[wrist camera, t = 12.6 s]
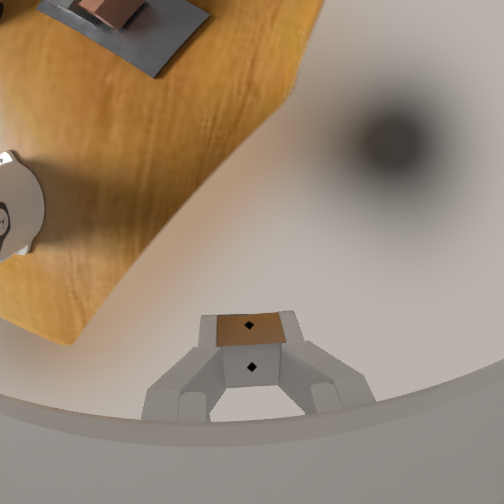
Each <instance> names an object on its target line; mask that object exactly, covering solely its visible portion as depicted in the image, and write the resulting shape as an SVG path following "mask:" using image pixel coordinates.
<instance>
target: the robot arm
mask: <svg viewBox="0 0 504 504" xmlns="http://www.w3.org/2000/svg"><path fill="white" fill-rule="evenodd" d="M43 219H44V199H43V194H42V190H41V188H40V185H39V183H38V181H37V179H36V177H35V176H34V175H33V173H32V172H31V171H30V170H29V169H28V168H26V167H25V166H24V165H22V164H20V163H19V162H18V161H17V159H16V158H15V156H14V155H13V153H12V152H11V151H9V150H8V151H5V152H3V153H2V154H0V263H1V262H4V261H5V260H7V259H8V258H10V257H11V256H13V255H14V254H19V255H25V254H27V253H28V252H29V250H30V247H31V243H32V240H33V239H34V237H35V236H36V235H37V234H38V232H39V230H40V228H41V226H42V223H43ZM270 385H279V387H280V388H281V389H282V390H283V391H284V392H285V393H286V394H287V395H288V396H289V397H290V398H291V399H292V400H293V401H294V402H295V403H296V404H297V405H298V406H299V407H300V408H301V409H302V410H303V411H304V412H305V415H302V416H293V417H285V418H275V419H264V420H252V421H251V420H250V421H234V422H211V420H210V415H209V413H210V411H211V410H212V409H213V407H214V406H215V405H216V403H217V402H218V400H219V399H220V397H221V396H222V395H223V393H224V392H225V390H226V388H238V387H251V386H270ZM0 504H504V359H503V360H500V361H498V362H496V363H494V364H491V365H489V366H487V367H484V368H482V369H479V370H477V371H474V372H472V373H469V374H467V375H464V376H461V377H459V378H456V379H453V380H450V381H447V382H444V383H442V384H438V385H435V386H432V387H429V388H426V389H423V390H419V391H416V392H413V393H409V394H406V395H402V396H398V397H395V398H391V399H387V400H383V401H379V402H376V400H375V398H374V396H373V394H372V392H371V390H370V388H369V386H368V383H367V381H366V379H365V377H364V375H362V374H361V373H359V372H357V371H356V370H354V369H353V368H351V367H349V366H347V365H346V364H344V363H343V362H341V361H340V360H338V359H336V358H335V357H333V356H332V355H330V354H329V353H327V352H325V351H324V350H322V349H321V348H319V347H318V346H316V345H314V344H313V343H312V342H310V341H304V338H303V335H302V333H301V330H300V327H299V324H298V321H297V318H296V316H295V313H294V311H282V312H275V313H261V314H233V315H232V314H231V315H202V316H201V320H200V330H199V341H198V347H194V348H192V349H191V350H190V351H189V352H188V353H187V354H186V355H185V356H184V357H183V358H182V359H180V360H179V361H178V362H177V363H176V364H175V365H174V366H173V367H172V368H171V369H170V370H169V371H167V372H166V373H165V374H164V375H163V376H162V377H161V378H160V379H159V380H157V381H156V382H155V383H154V384H153V385H152V386H151V387H150V388H149V389H147V393H146V398H145V402H144V407H143V412H142V417H141V420H134V419H125V418H115V417H107V416H99V415H92V414H85V413H79V412H73V411H68V410H63V409H58V408H52V407H48V406H44V405H39V404H35V403H31V402H27V401H23V400H19V399H16V398H12V397H9V396H5V395H2V394H0Z"/></svg>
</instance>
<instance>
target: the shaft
mask: <svg viewBox="0 0 504 504" xmlns="http://www.w3.org/2000/svg"><path fill="white" fill-rule="evenodd" d="M145 1H146V0H82V1H81V2H80V3H79V4H78V5H80V6H81V7H83V8H84V9H86V11H87V12H88V13H90V14H92V15H94V16H96V17H97V18H98V19H100V20H101V21H102V22H104V23H105V24H107V25H109V26H111V27H113V28H114V29H116V30H118V31H119V30H120V28H121V27H122V26H123V25H124V24H125V23H126V21H127V20H128V19H129V18H130V17H131V16H132V15H133V13H134V12H135V11H136V10H137V9H138V8H139V7H140V6H141V5H142V4H143V3H144V2H145Z"/></svg>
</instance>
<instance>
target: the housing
mask: <svg viewBox="0 0 504 504" xmlns="http://www.w3.org/2000/svg"><path fill="white" fill-rule="evenodd" d="M81 1H82V0H42V1H41V2H40V4H39V5H38V7H37V8H36V10H38V11H40V12H42V13H44V14H46V15H48V16H50V17H52V18H54V19H56V20H58V21H60V22H62V23H63V24H65V25H67V26H69V27H71V28H72V29H74V30H76V31H78V32H80V33H81V34H83V35H85V36H87V37H88V38H90V39H92V40H93V41H95V42H97V43H99V44H100V45H102V46H104V47H105V48H107V49H109V50H110V51H112V52H113V53H115V54H117V55H118V56H120V57H121V58H123V59H125V60H126V61H128V62H129V63H131V64H132V65H134V66H136V67H137V68H139V69H140V70H142V71H143V72H145V73H146V74H148V75H149V76H151V77H152V78H154V79H155V78H156V77H157V76H158V74H159V73H160V72H161V71H162V69H163V68H164V67H165V66H166V65H167V63H168V62H169V61H170V60H171V59H172V58H173V56H174V55H175V54H176V53H177V52H178V51H179V50H180V48H181V47H182V46H183V45H184V44H185V43H186V42H187V41H188V40H189V38H190V37H191V36H192V35H193V34H194V33H195V32H196V31H197V30H198V29H199V28H200V27H201V26H202V25H203V24H204V23H205V22H206V21H207V20H208V19H209V18H210V14H208V13H206V12H205V11H203V10H201V9H200V8H198V7H196V6H195V5H193V4H191V3H190V2H188V1H186V0H146V1H145V2H144V3H143V4H142V5H141V6H140V7H139V8H138V9H137V10H136V11H135V12H134V13H133V15H132V16H131V17H130V18H129V19H128V20H127V21H126V23H125V24H124V25H123V26H122V27H121V28H120V30H119V31H118V30H116V29H114V28H113V27H111V26H109V25H107V24H105V23H104V22H102V21H101V20H100V19H98V18H97V17H96V16H94V15H92V14H90V13H88V12H87V11H86V9H84V8H83V7H81V6H80V5H78V4H79V3H80V2H81Z"/></svg>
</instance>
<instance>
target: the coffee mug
mask: <svg viewBox="0 0 504 504" xmlns="http://www.w3.org/2000/svg"><path fill="white" fill-rule="evenodd" d="M2 13H3V4H2V3H1V2H0V18H1V15H2Z"/></svg>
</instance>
